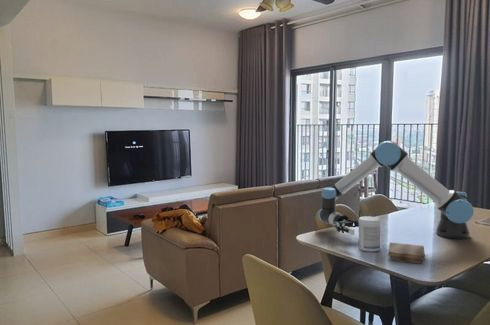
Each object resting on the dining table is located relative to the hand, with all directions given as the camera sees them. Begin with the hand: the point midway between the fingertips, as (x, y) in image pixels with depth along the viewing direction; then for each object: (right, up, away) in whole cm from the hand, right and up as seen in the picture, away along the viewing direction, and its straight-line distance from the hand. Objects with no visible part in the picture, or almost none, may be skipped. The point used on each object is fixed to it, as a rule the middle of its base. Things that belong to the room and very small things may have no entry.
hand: (365, 230), depth 174 cm
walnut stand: (+13, -9, -13) cm, 21 cm away
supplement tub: (+1, -9, -1) cm, 9 cm away
